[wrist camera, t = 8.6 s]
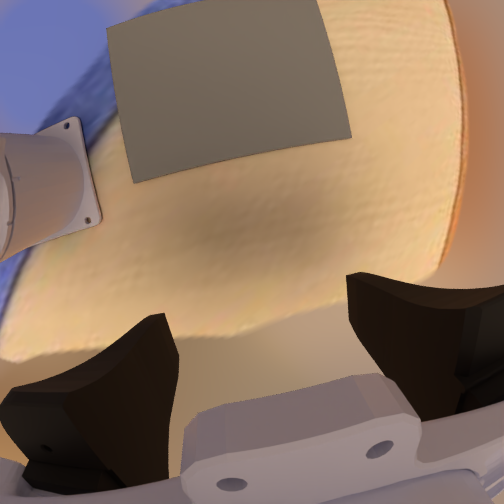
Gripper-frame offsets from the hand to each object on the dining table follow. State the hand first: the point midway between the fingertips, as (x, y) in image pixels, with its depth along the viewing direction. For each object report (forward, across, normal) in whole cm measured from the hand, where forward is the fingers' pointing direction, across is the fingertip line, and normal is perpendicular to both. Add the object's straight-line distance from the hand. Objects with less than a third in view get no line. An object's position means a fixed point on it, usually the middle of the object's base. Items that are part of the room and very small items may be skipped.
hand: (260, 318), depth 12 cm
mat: (+10, -1, -12) cm, 16 cm away
